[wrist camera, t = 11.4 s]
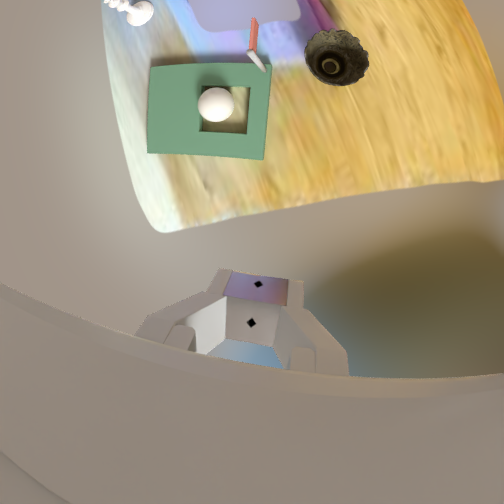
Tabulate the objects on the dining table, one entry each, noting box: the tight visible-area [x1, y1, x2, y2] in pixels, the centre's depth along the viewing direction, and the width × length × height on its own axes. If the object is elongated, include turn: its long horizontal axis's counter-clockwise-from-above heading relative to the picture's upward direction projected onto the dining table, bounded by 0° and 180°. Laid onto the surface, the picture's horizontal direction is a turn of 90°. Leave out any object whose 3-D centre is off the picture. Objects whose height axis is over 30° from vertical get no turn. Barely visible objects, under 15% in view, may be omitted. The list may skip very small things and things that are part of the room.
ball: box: [198, 87, 234, 122], centre depth 35 cm, size 5×5×5 cm
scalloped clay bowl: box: [304, 28, 369, 86], centre depth 28 cm, size 8×7×8 cm
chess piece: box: [104, 0, 154, 26], centre depth 26 cm, size 5×5×10 cm
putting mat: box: [147, 18, 272, 160], centre depth 31 cm, size 17×18×14 cm
